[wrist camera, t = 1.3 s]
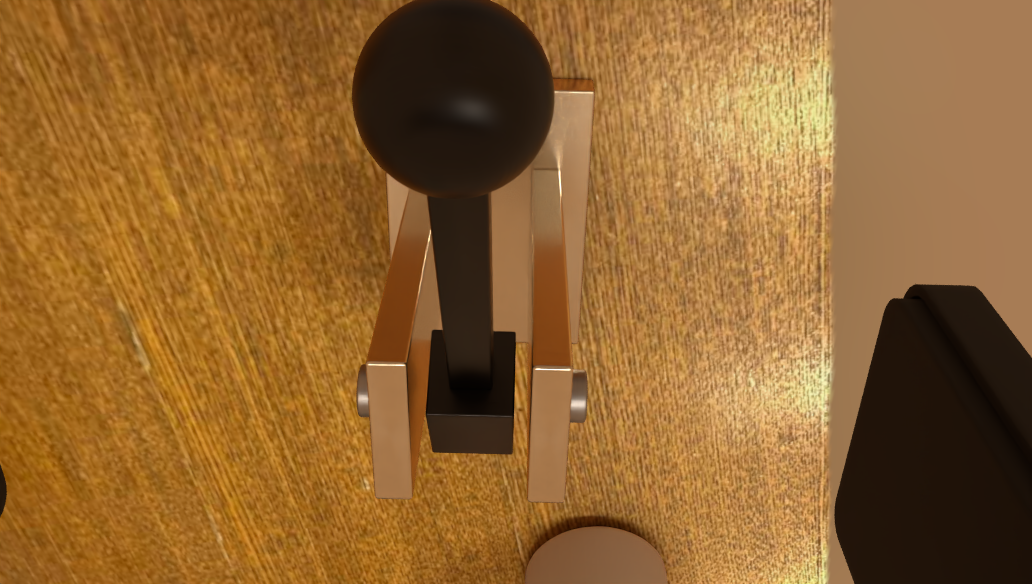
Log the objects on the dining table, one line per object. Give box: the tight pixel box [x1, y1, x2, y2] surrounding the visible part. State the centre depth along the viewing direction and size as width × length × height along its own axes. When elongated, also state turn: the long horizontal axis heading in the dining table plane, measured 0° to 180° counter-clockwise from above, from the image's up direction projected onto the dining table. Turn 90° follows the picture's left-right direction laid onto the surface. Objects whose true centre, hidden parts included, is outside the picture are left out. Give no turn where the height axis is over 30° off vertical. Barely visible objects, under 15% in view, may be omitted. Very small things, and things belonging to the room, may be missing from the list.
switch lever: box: [352, 0, 555, 454], centre depth 21 cm, size 15×3×3 cm, turn 179°
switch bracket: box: [357, 79, 595, 503], centre depth 30 cm, size 10×7×13 cm
